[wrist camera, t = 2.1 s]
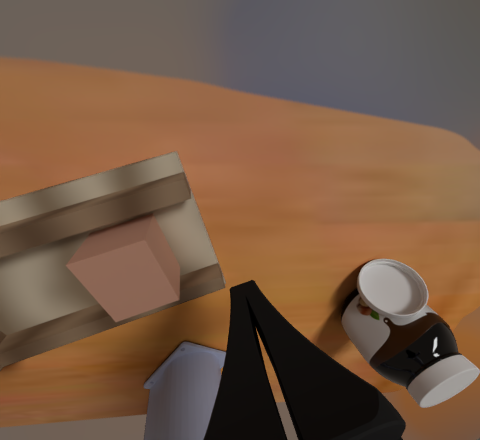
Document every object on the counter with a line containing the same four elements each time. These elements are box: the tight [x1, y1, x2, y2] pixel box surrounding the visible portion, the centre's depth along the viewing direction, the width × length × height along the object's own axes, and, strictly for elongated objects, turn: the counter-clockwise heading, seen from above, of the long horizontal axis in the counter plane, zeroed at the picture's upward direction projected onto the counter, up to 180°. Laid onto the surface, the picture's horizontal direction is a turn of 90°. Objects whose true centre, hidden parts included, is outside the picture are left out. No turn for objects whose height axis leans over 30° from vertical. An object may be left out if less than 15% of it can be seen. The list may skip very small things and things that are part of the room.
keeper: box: [66, 214, 180, 322], centre depth 16 cm, size 5×6×4 cm
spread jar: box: [341, 259, 480, 407], centre depth 25 cm, size 12×11×12 cm
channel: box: [0, 151, 226, 371], centre depth 16 cm, size 22×14×5 cm, turn 103°
